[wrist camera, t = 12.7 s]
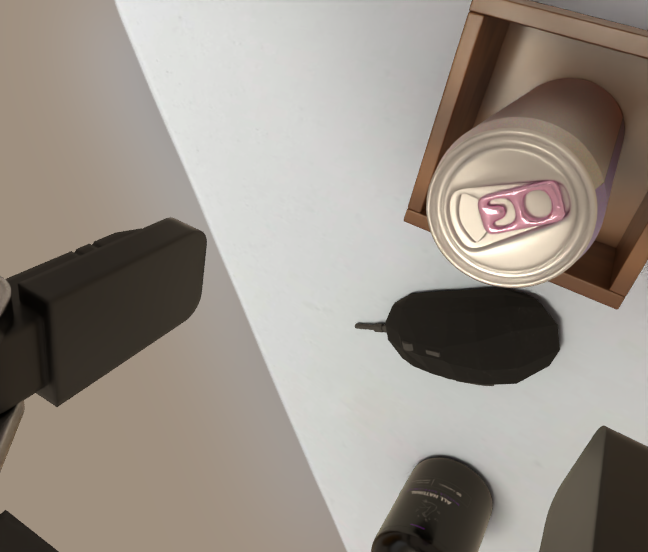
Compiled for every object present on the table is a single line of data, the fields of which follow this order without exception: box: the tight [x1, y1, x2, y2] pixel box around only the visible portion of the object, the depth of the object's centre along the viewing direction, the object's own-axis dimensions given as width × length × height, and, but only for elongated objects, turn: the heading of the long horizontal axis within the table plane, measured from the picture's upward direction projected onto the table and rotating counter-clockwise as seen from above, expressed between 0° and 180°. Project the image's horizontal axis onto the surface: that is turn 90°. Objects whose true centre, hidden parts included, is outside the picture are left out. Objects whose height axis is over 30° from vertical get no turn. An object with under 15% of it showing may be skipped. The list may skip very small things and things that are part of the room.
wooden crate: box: [404, 0, 648, 309], centre depth 28 cm, size 12×12×7 cm
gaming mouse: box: [355, 288, 560, 386], centre depth 38 cm, size 6×15×4 cm, turn 105°
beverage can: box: [426, 78, 624, 288], centre depth 25 cm, size 6×6×15 cm
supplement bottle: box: [371, 457, 493, 552], centre depth 40 cm, size 7×7×12 cm
